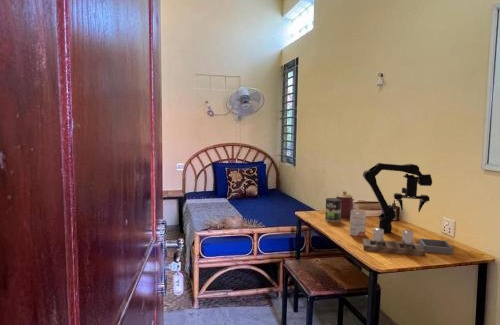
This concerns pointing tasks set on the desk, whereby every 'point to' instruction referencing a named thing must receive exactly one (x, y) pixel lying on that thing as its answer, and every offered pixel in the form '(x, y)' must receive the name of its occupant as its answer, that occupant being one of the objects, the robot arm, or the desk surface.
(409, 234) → the loose billet
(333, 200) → the coffee can
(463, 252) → the desk surface
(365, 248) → the divided tray
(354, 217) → the ink cartridge box
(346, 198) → the canister
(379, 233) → the block
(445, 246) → the tray
